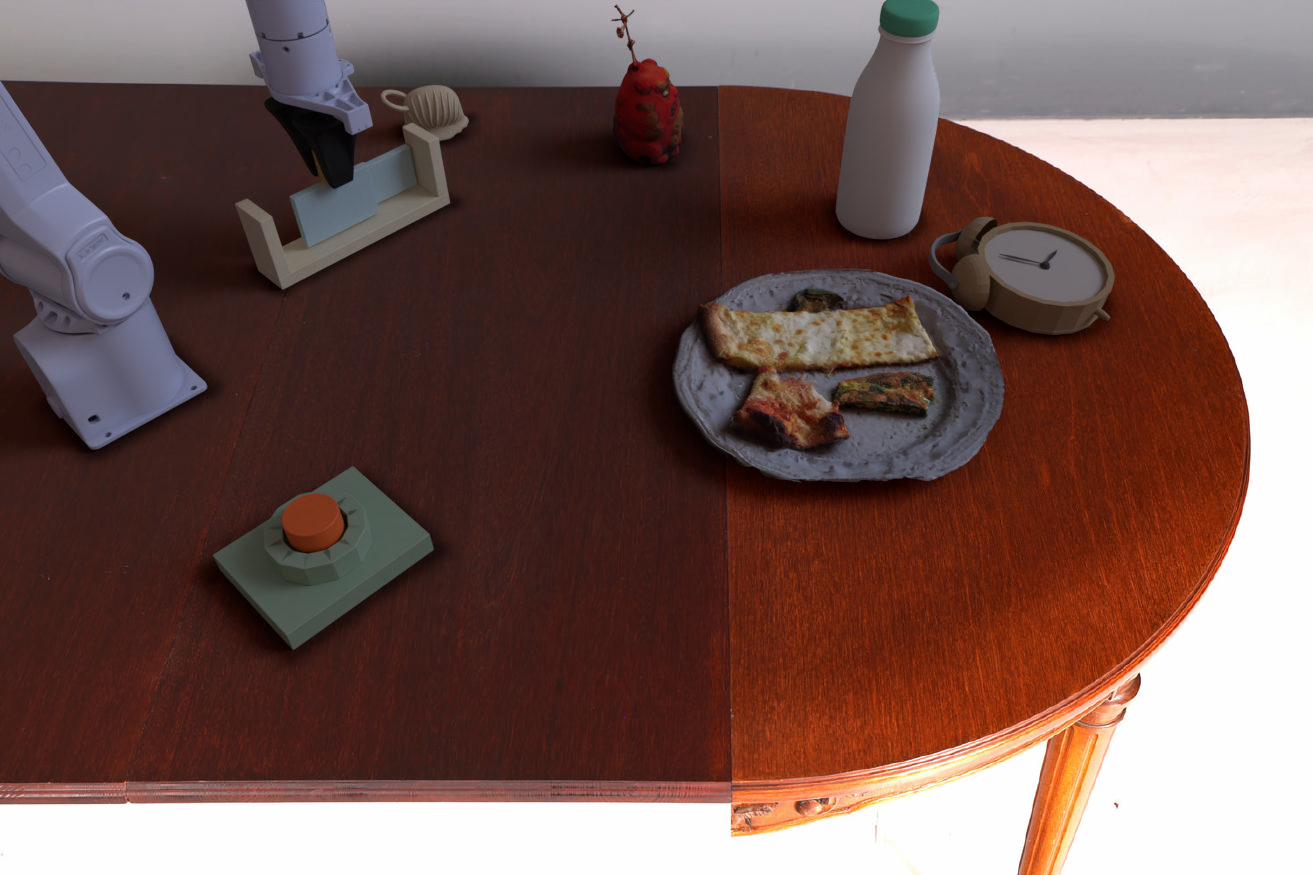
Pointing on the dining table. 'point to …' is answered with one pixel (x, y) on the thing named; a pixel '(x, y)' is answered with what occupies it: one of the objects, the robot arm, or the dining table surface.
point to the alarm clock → (1027, 275)
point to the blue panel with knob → (333, 205)
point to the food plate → (839, 377)
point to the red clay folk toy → (646, 109)
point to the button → (313, 522)
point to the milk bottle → (891, 126)
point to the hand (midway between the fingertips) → (332, 177)
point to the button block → (324, 560)
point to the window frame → (403, 196)
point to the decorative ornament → (431, 110)
